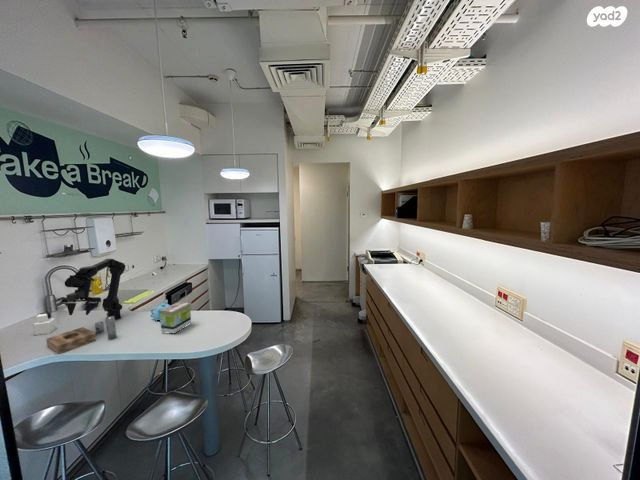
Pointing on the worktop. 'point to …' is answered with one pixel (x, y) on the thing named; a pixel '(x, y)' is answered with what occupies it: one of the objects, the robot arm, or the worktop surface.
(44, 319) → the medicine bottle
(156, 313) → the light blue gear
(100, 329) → the short pin
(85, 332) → the plate
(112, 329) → the long pin
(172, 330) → the tea box
